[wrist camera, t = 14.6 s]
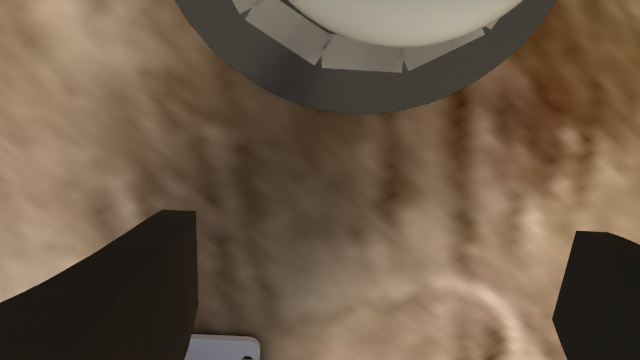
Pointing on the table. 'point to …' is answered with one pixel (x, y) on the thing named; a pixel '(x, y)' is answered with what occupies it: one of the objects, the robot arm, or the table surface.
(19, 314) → the robot arm
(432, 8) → the lightbulb
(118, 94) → the table surface
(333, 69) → the lamp base
